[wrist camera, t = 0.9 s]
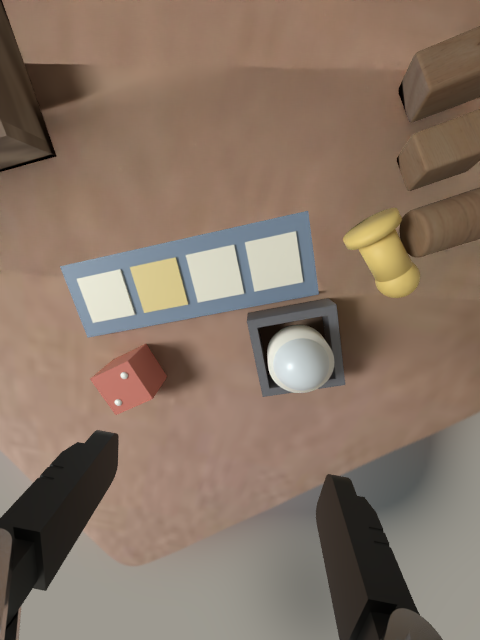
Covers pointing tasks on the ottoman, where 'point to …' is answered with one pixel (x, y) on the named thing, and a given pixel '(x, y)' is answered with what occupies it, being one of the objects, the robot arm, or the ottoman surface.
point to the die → (130, 379)
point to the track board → (195, 276)
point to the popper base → (288, 315)
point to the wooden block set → (442, 143)
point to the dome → (299, 359)
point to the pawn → (385, 253)
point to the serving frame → (18, 107)
